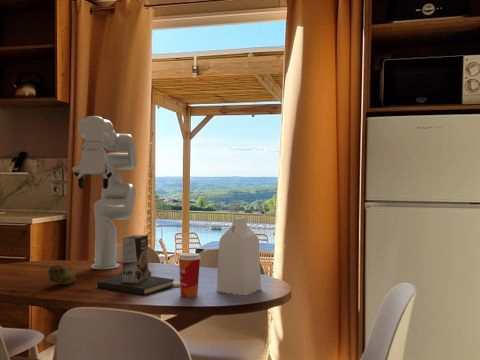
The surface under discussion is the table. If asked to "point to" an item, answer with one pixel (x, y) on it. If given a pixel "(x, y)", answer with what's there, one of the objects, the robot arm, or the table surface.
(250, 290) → the milk
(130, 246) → the coffee box
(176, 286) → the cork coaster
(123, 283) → the hardcover book
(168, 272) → the table surface
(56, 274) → the potato
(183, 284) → the paper cup
